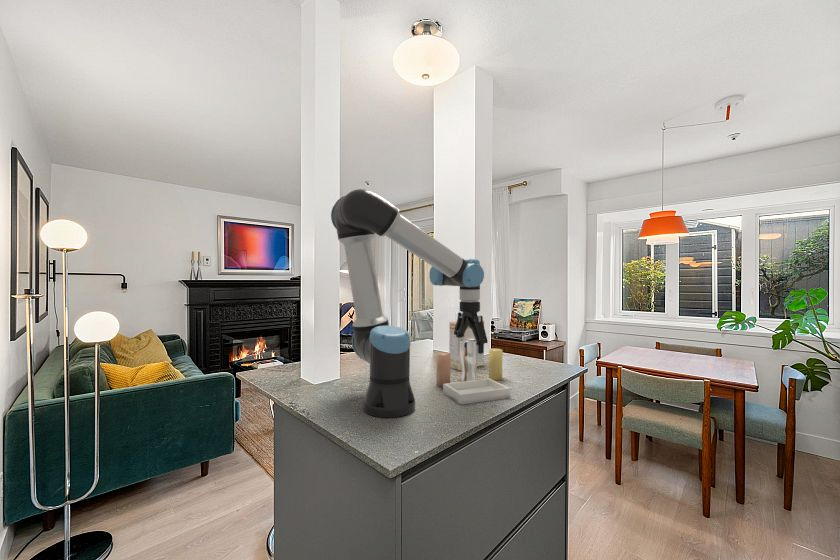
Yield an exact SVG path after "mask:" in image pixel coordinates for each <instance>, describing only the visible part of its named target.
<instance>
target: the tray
mask: <svg viewBox="0 0 840 560" xmlns="http://www.w3.org/2000/svg"><path fill="white" fill-rule="evenodd" d="M442 393H443V394H444V395H446V396H448V397H449V398H451V399H452V400H453V401H454V402H456V403H458V404H459V405H468V404H474V403H475V404H476V403H481V402H482V403H483V402H488V401H494V400H495V401H496V400H502V399H507V398H508V399H509V398H511V388H510V387H508V386H506V385H504V384H502V383H500V382H498V381H497V380H492V379H490V378H489V377H488V378H482V379H477V380H471V381H463V382H462V381H457V382H454V381H453V382H450V383H446V384H443V387H442Z"/></svg>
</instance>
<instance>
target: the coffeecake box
mask: <svg viewBox="0 0 840 560" xmlns="http://www.w3.org/2000/svg"><path fill="white" fill-rule="evenodd" d="M456 323H457V320H455V321H449V341H448V342H449V352H448V353H450V354H451V369H453V370H457V371H461V372H462V367H461V361H460V355H457V337H456V335H454V331H455V327H456ZM475 325H476V324H475ZM483 325H484V326H485V320H483ZM457 332H458V331H457ZM464 339H475V336H474V334H473V331H472V329H471V328H470V327H469V326H468V327H467V329H466V331H465V333H464ZM475 340H476V339H475ZM482 366H485V351H484V352H483V362H480V363H477V367H482Z"/></svg>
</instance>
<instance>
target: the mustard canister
mask: <svg viewBox="0 0 840 560" xmlns="http://www.w3.org/2000/svg"><path fill="white" fill-rule="evenodd" d="M488 349H489V350H488V378H490V379H492V380H494V381H503V352H504V351H503V349H502V348H494V347H493V348H491V347H490V348H488Z"/></svg>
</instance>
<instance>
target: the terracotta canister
mask: <svg viewBox="0 0 840 560" xmlns="http://www.w3.org/2000/svg"><path fill="white" fill-rule="evenodd" d="M435 369H436V373H435V375H436V376H435V377H436V378H435V379H436V381H435V382H436V386H437V387H441V388H443V384H446V383H451V369H452V368H451V354H450V353H449V352H437V353H436V367H435Z"/></svg>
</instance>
